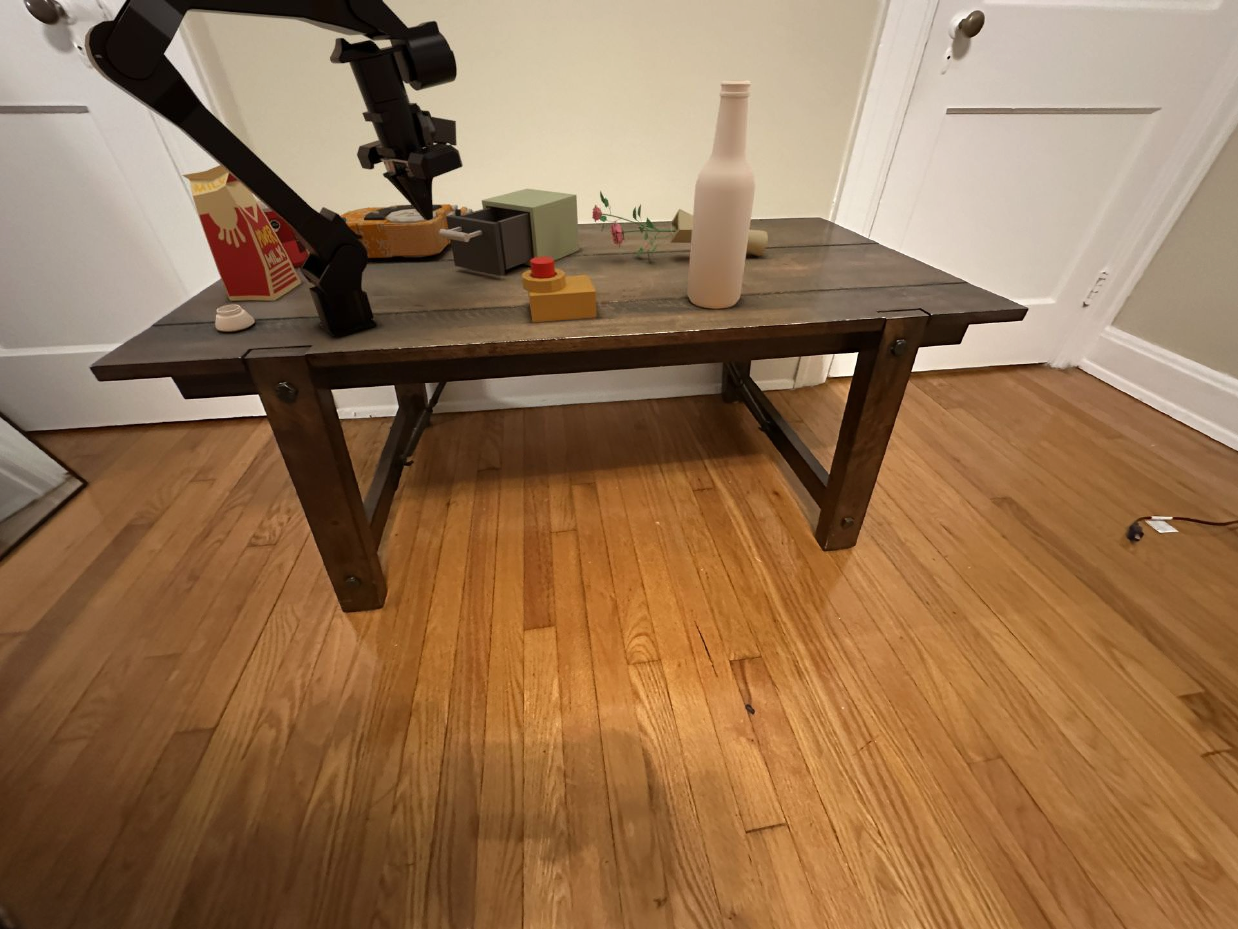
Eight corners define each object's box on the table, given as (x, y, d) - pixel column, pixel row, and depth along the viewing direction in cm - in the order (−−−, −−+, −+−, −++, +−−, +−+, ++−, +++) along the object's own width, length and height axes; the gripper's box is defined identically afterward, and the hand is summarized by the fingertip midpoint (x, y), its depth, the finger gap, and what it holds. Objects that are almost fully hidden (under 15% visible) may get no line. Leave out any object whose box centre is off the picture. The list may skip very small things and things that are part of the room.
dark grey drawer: (482, 283, 94) (474, 229, 88) (436, 272, 99) (425, 221, 93) (543, 258, 105) (539, 210, 100) (499, 250, 110) (493, 203, 105)
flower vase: (749, 297, 112) (587, 269, 102) (736, 262, 119) (583, 233, 109) (777, 246, 102) (601, 210, 93) (760, 212, 110) (596, 176, 100)
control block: (527, 323, 82) (523, 284, 78) (524, 304, 88) (520, 267, 84) (596, 317, 84) (595, 279, 80) (589, 299, 90) (587, 263, 86)
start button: (532, 281, 80) (530, 264, 79) (531, 274, 83) (529, 257, 82) (556, 279, 81) (555, 262, 79) (554, 272, 84) (552, 255, 82)
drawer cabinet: (538, 267, 104) (532, 207, 98) (489, 257, 109) (481, 200, 103) (579, 250, 113) (576, 194, 107) (532, 242, 119) (527, 188, 112)
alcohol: (699, 312, 85) (720, 81, 67) (679, 294, 92) (693, 80, 74) (748, 306, 87) (782, 81, 69) (725, 289, 94) (750, 79, 76)
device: (349, 196, 119) (483, 194, 120) (360, 235, 124) (489, 233, 125) (305, 220, 101) (464, 217, 102) (320, 264, 106) (471, 262, 107)
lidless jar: (216, 325, 81) (219, 336, 78) (207, 306, 80) (210, 317, 76) (253, 318, 84) (257, 328, 80) (245, 299, 82) (249, 309, 79)
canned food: (257, 266, 105) (233, 206, 98) (293, 256, 110) (273, 198, 104) (282, 272, 102) (259, 210, 95) (318, 261, 108) (298, 201, 101)
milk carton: (301, 282, 97) (255, 157, 85) (276, 301, 90) (223, 166, 78) (250, 283, 97) (197, 158, 85) (222, 301, 90) (159, 167, 77)
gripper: (475, 85, 70) (506, 209, 81) (401, 85, 80) (438, 195, 91) (403, 106, 65) (447, 236, 75) (333, 103, 75) (381, 218, 85)
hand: (429, 219), depth 82 cm, fingers closed
